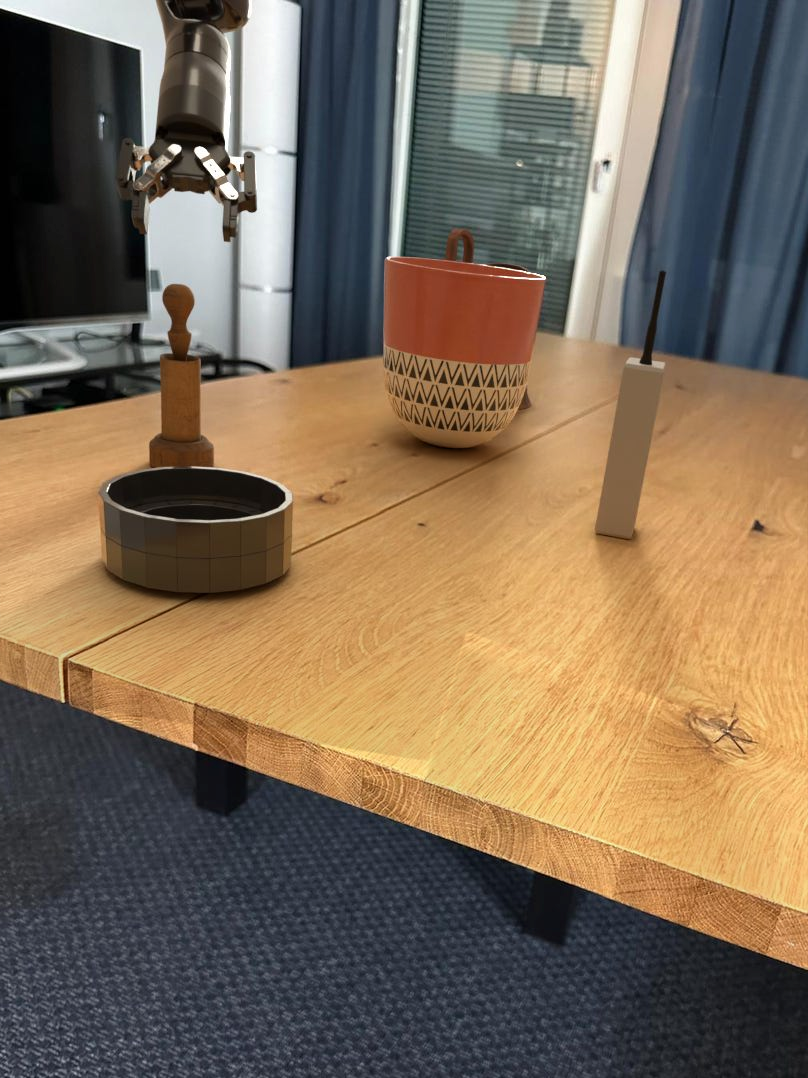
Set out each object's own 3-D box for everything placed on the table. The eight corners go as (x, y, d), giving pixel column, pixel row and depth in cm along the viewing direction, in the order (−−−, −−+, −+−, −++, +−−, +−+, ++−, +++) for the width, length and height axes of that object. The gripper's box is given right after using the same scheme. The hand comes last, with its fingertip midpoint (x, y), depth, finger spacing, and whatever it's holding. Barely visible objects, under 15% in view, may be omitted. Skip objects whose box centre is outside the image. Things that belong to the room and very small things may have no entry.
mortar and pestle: (207, 476, 95) (205, 291, 88) (142, 470, 94) (134, 283, 87) (219, 459, 101) (218, 285, 94) (158, 454, 100) (152, 277, 93)
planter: (475, 473, 108) (497, 279, 99) (342, 438, 116) (351, 255, 107) (547, 448, 124) (572, 278, 115) (426, 419, 132) (440, 257, 123)
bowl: (68, 583, 68) (62, 504, 65) (151, 525, 80) (148, 457, 78) (258, 612, 67) (259, 533, 64) (310, 548, 80) (313, 481, 77)
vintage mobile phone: (634, 526, 97) (684, 271, 86) (630, 540, 92) (683, 273, 82) (599, 520, 97) (644, 266, 87) (593, 533, 93) (641, 267, 82)
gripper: (119, 73, 97) (105, 199, 92) (258, 90, 99) (252, 213, 95) (132, 132, 104) (120, 251, 99) (262, 146, 106) (256, 263, 102)
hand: (184, 232), depth 97 cm, fingers open, 8 cm apart
